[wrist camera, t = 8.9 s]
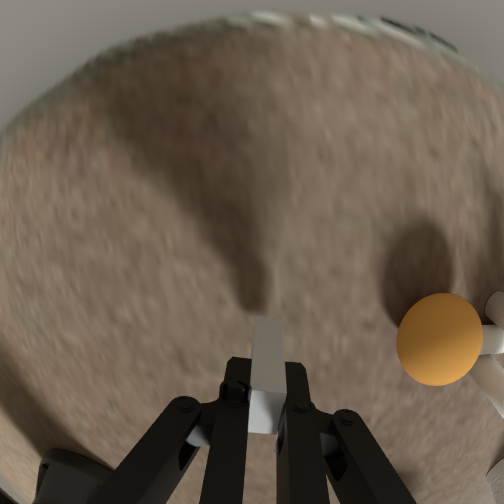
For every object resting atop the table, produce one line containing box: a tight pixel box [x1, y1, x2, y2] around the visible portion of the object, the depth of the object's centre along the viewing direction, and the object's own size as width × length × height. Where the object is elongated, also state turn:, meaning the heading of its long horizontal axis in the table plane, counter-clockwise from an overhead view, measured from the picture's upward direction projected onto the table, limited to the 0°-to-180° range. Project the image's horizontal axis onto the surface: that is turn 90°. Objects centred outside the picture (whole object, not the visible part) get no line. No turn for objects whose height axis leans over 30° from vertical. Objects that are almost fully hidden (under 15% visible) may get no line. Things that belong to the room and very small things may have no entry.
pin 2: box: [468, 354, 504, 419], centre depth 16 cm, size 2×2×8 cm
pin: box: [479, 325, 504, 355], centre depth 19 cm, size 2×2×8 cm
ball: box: [397, 293, 483, 386], centre depth 17 cm, size 6×6×6 cm
